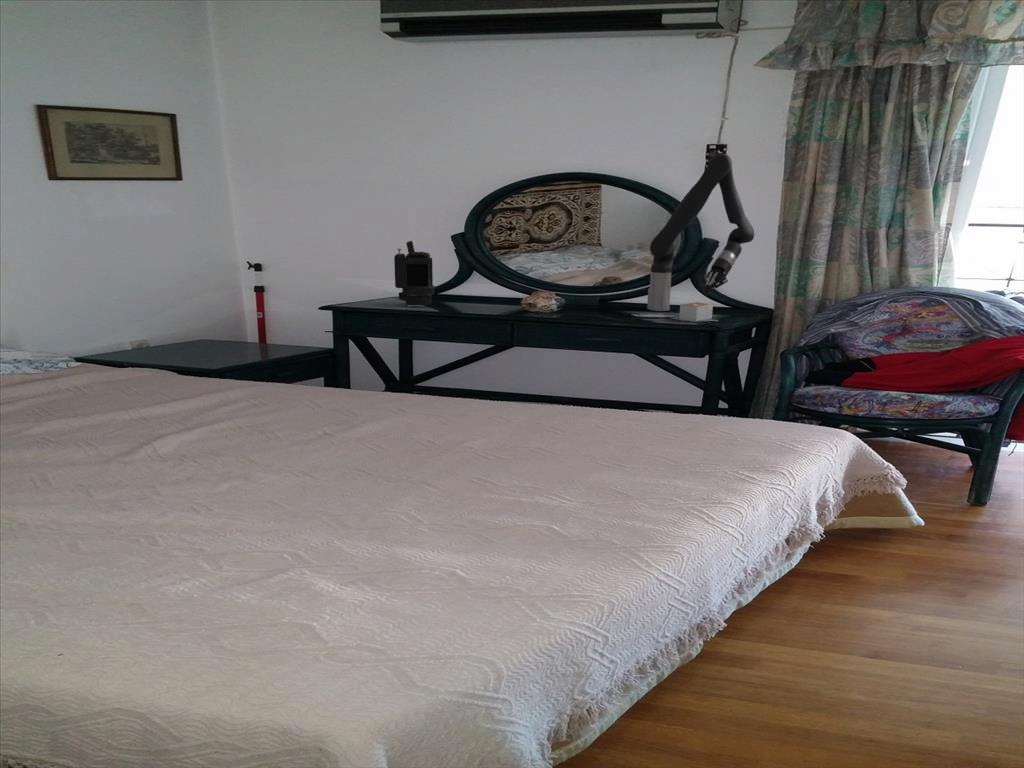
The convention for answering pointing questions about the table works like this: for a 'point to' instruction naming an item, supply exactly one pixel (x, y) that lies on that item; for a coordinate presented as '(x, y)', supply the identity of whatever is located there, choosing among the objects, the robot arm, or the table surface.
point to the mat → (696, 321)
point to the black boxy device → (414, 276)
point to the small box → (695, 311)
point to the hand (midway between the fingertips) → (704, 293)
